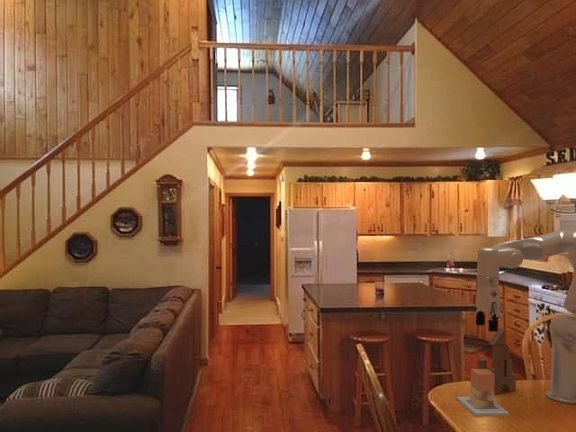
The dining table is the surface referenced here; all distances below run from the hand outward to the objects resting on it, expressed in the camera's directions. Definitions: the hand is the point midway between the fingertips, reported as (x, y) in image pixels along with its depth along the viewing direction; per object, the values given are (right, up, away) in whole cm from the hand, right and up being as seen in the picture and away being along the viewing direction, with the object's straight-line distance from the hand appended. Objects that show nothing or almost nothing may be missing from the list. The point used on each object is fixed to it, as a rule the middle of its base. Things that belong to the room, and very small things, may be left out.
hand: (486, 328), depth 190 cm
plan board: (-2, -28, -2) cm, 28 cm away
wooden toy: (+10, -29, +16) cm, 34 cm away
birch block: (-2, -27, -2) cm, 27 cm away
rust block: (-2, -21, -2) cm, 21 cm away
